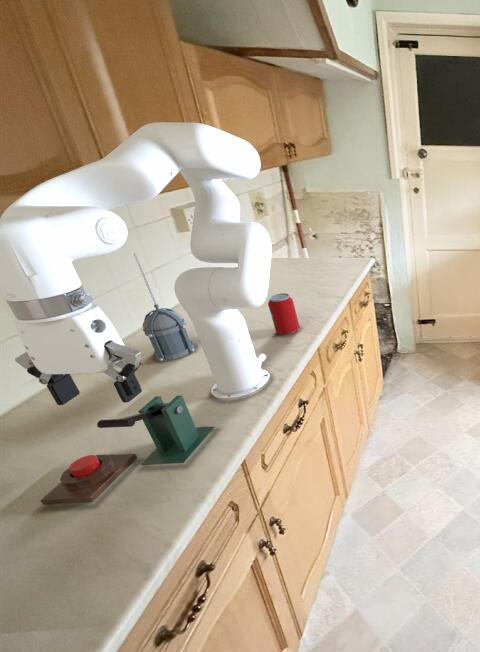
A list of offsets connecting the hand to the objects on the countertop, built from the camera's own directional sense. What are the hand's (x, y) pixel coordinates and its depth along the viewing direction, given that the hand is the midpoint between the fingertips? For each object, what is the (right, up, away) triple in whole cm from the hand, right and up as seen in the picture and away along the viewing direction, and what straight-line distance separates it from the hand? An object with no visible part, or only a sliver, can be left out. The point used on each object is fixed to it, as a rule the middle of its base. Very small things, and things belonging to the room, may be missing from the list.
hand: (101, 398), depth 65 cm
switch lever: (0, -6, +8) cm, 10 cm away
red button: (-10, -15, +7) cm, 19 cm away
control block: (-10, -18, +9) cm, 22 cm away
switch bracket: (-1, -14, +17) cm, 22 cm away
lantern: (-30, +1, +50) cm, 59 cm away
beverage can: (-4, +7, +62) cm, 62 cm away
